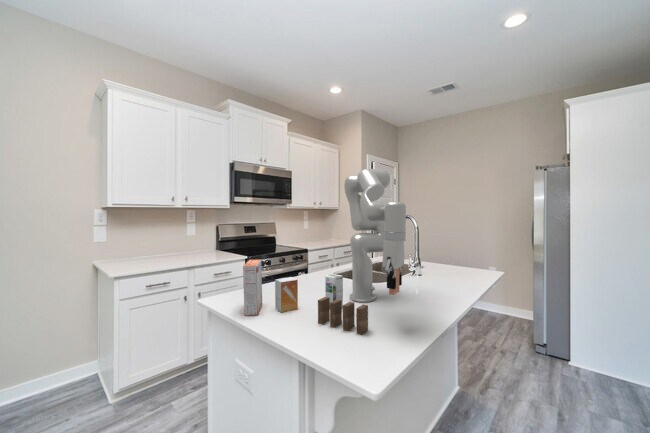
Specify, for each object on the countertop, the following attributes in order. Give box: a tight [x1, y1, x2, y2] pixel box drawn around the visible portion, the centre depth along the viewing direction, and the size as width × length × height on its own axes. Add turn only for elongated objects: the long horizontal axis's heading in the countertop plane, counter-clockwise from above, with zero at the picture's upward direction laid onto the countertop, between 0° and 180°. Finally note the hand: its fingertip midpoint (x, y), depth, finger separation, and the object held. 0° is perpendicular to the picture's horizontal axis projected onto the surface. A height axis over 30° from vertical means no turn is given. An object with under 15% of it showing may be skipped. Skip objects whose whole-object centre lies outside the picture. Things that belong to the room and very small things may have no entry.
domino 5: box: [388, 267, 401, 296], centre depth 104 cm, size 2×5×9 cm, turn 146°
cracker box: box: [242, 259, 263, 317], centre depth 124 cm, size 14×6×21 cm, turn 5°
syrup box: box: [324, 273, 344, 309], centre depth 126 cm, size 6×6×14 cm
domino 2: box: [329, 299, 343, 329], centre depth 108 cm, size 2×5×9 cm, turn 145°
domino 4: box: [355, 304, 369, 336], centre depth 101 cm, size 2×5×9 cm, turn 145°
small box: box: [274, 276, 299, 313], centre depth 126 cm, size 8×6×13 cm
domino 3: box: [342, 301, 356, 333], centre depth 104 cm, size 2×5×9 cm, turn 145°
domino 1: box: [317, 296, 330, 326], centre depth 111 cm, size 2×5×9 cm, turn 145°
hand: (394, 286), depth 104 cm, fingers closed on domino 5, 4 cm apart
